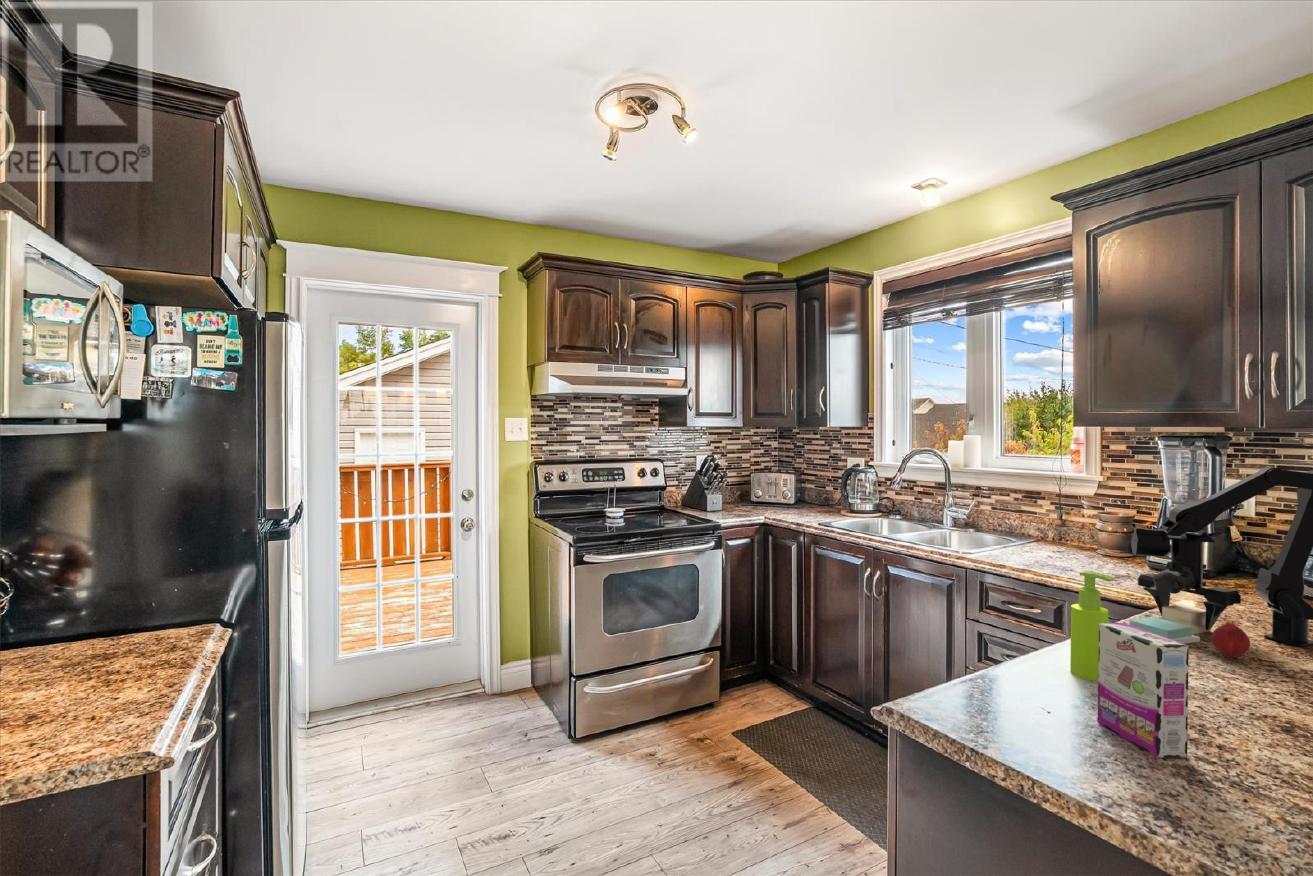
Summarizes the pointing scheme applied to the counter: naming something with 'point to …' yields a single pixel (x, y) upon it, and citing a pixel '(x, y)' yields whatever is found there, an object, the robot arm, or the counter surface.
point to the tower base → (1166, 629)
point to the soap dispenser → (1087, 628)
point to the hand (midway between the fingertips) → (1185, 623)
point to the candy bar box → (1143, 689)
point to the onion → (1230, 640)
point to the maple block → (1186, 617)
